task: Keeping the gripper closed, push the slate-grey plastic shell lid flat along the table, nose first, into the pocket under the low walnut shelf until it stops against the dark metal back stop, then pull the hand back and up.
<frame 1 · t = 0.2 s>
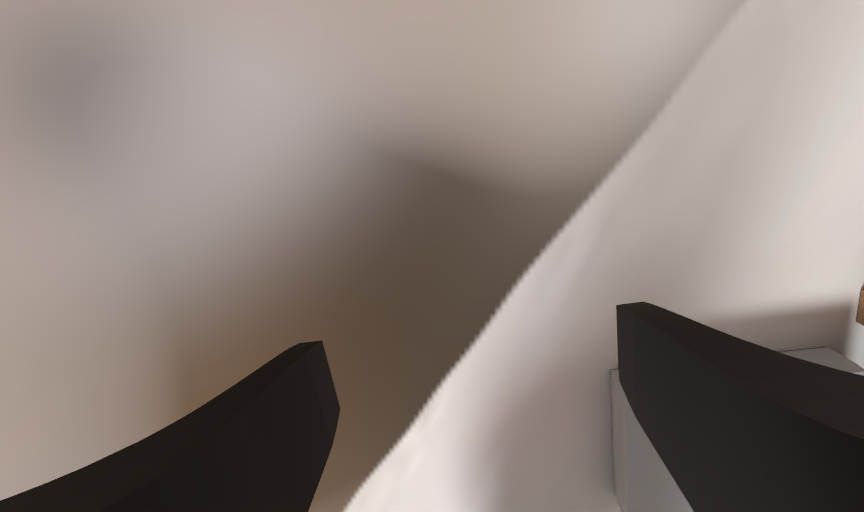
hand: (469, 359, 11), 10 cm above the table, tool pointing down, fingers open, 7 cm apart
grey shell: (713, 426, 22), on the table
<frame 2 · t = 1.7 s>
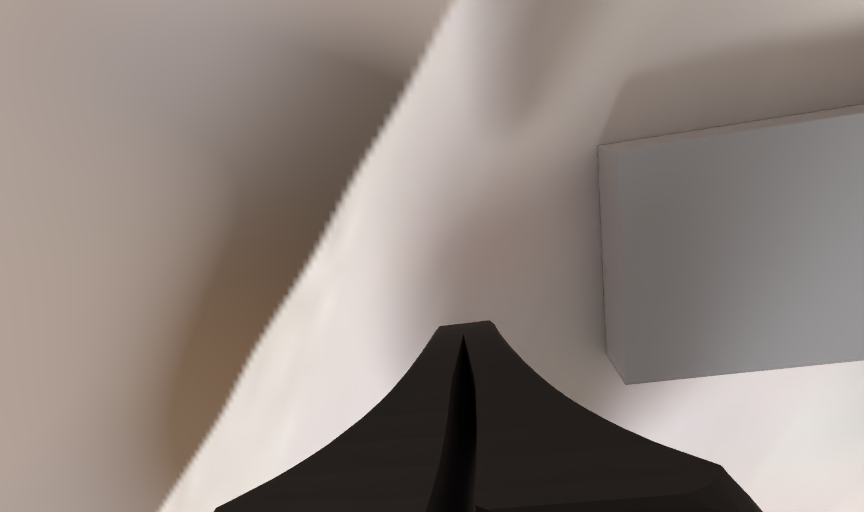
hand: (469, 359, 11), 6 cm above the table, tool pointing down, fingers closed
grey shell: (748, 238, 15), on the table
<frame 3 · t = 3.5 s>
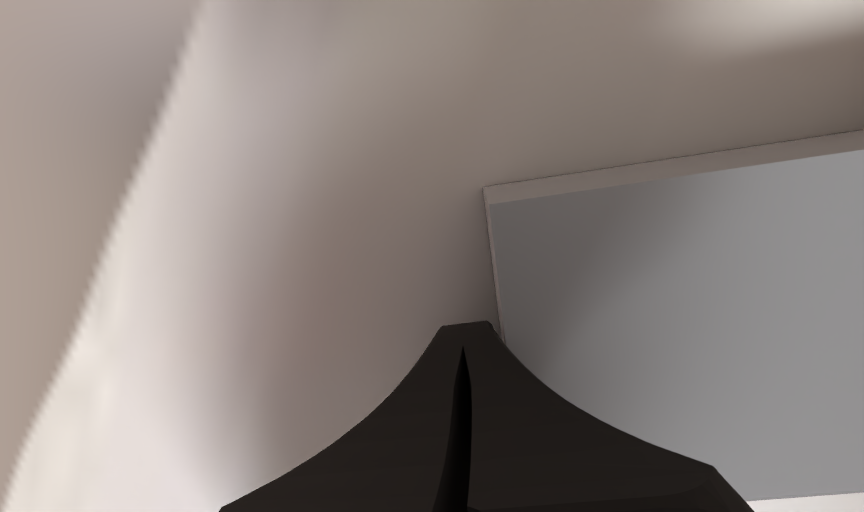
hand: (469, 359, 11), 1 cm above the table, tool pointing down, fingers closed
grey shell: (699, 313, 11), on the table, touching gripper
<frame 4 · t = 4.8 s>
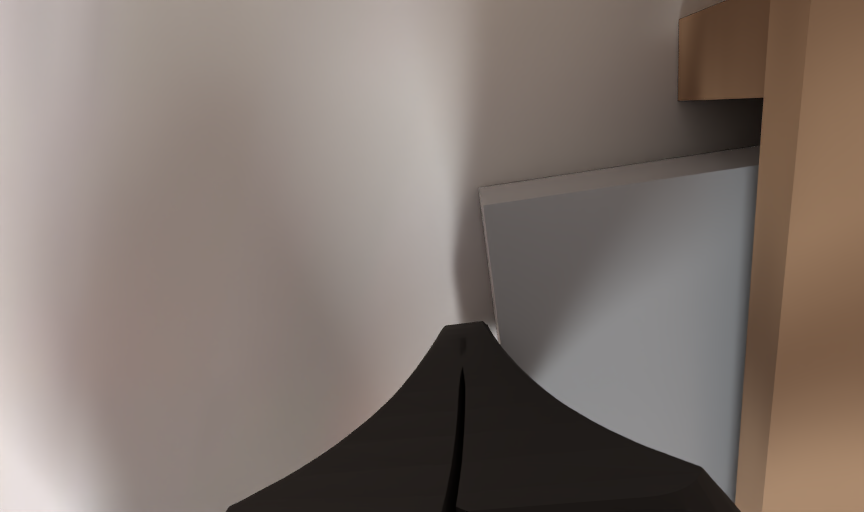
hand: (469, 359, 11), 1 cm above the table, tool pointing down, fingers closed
walnut shelf: (823, 298, 11), on the table
grey shell: (695, 314, 11), on the table, touching gripper, walnut shelf
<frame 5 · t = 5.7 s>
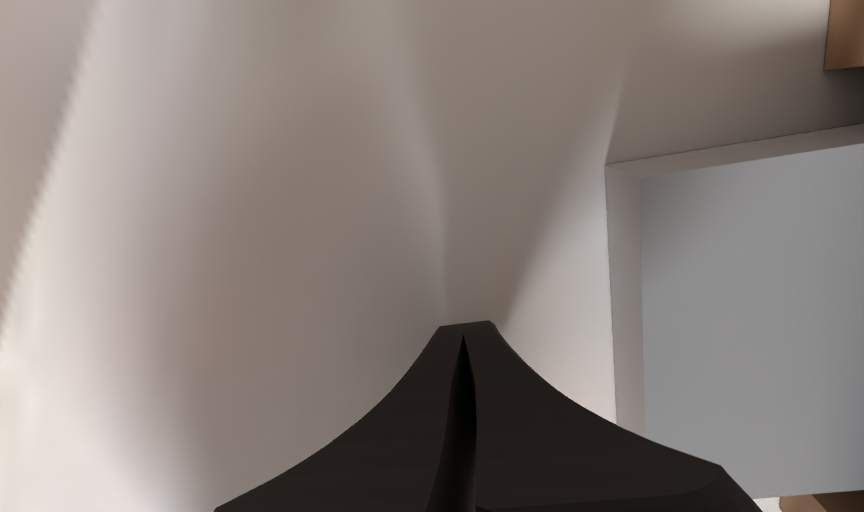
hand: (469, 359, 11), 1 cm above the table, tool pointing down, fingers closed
grey shell: (822, 295, 11), on the table
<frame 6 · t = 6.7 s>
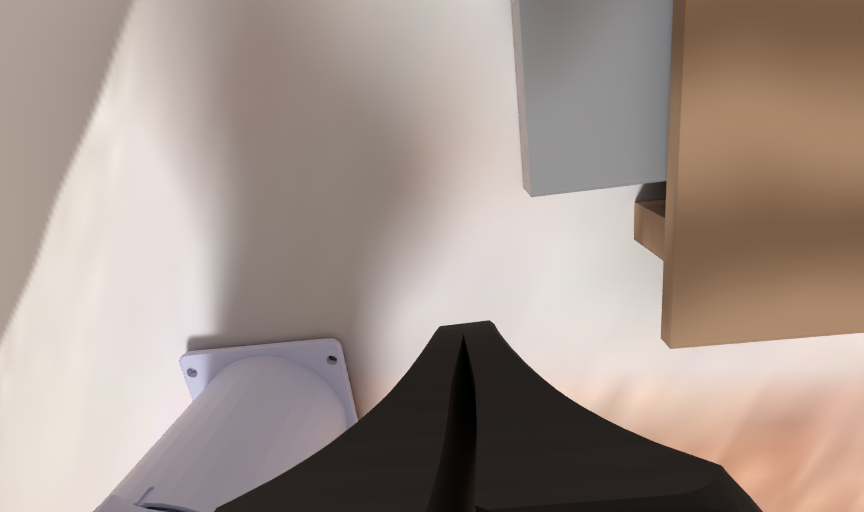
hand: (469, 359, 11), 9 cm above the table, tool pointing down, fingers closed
walnut shelf: (733, 54, 16), on the table
grey shell: (649, 66, 17), on the table
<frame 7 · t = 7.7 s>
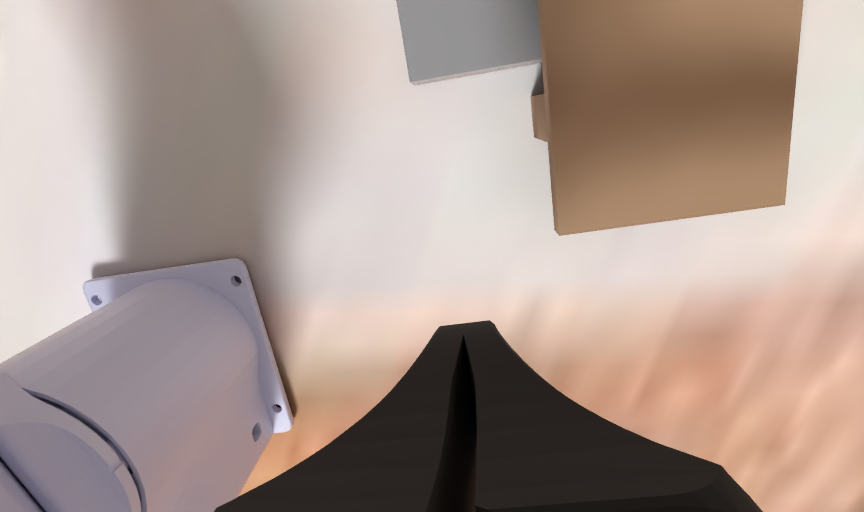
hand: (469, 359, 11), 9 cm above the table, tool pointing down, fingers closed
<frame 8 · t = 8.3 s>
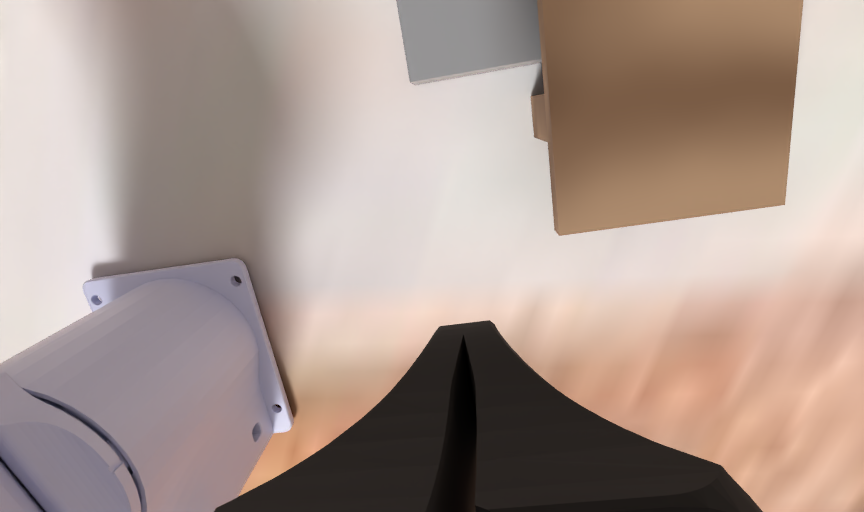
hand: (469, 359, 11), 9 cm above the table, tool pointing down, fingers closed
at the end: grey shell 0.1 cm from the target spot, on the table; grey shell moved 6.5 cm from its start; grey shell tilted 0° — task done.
